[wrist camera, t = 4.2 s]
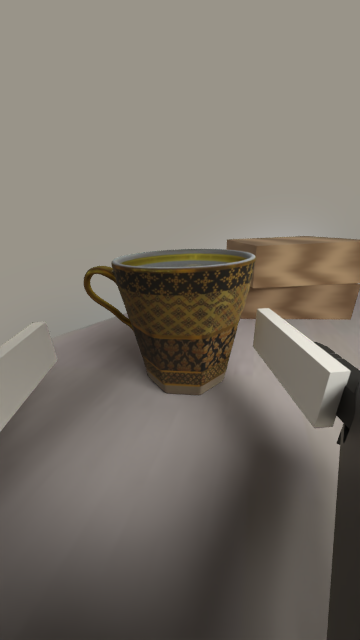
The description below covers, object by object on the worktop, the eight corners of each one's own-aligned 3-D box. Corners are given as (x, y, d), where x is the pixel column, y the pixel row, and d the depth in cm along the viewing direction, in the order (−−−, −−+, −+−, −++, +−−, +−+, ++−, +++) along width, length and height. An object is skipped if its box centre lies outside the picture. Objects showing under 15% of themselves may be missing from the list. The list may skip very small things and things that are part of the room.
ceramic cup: (236, 344, 24) (243, 247, 20) (254, 419, 14) (275, 266, 10) (121, 341, 25) (106, 251, 21) (72, 407, 16) (30, 270, 12)
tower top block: (300, 264, 40) (305, 236, 38) (362, 282, 27) (375, 240, 25) (225, 268, 40) (227, 239, 38) (252, 288, 27) (256, 245, 25)
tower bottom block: (305, 292, 41) (310, 265, 39) (349, 322, 29) (360, 284, 27) (230, 293, 43) (231, 267, 41) (240, 321, 30) (243, 286, 28)
